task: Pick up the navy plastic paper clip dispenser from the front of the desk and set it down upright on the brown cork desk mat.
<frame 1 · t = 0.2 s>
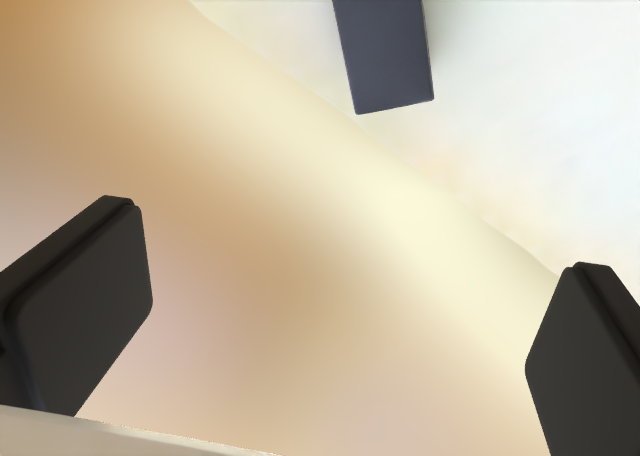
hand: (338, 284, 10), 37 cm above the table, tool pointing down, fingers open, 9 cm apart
small box: (385, 22, 41), on the table
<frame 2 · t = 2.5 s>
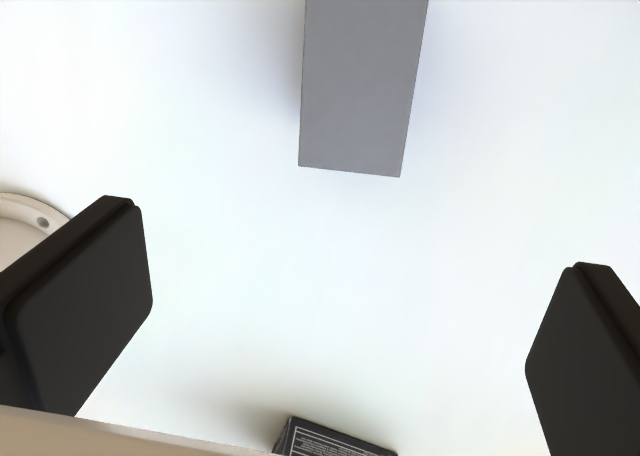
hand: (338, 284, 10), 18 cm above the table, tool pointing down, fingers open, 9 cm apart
small box: (332, 451, 42), on the table
clip dispenser: (363, 66, 26), on the table
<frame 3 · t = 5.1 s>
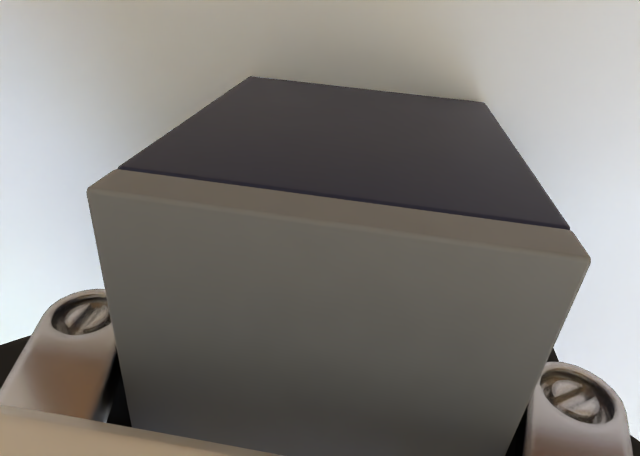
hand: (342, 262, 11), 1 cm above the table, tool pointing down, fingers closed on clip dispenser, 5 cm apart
clip dispenser: (344, 249, 12), on the table, touching gripper
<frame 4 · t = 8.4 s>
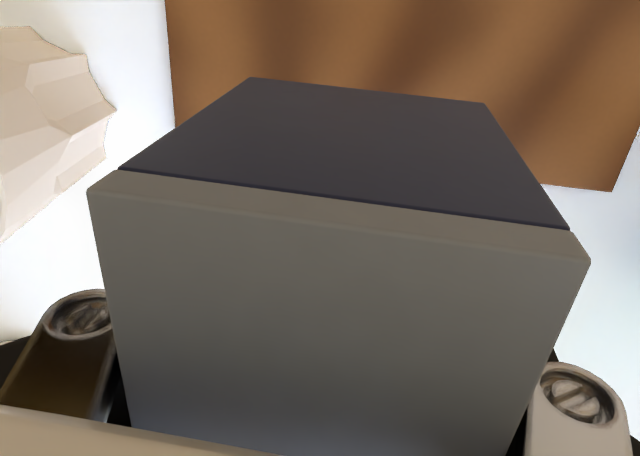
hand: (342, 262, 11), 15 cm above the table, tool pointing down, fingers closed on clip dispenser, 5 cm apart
cup: (51, 104, 27), on the table
mat: (402, 48, 23), on the table
clip dispenser: (344, 249, 12), point 15 cm above the table, touching gripper
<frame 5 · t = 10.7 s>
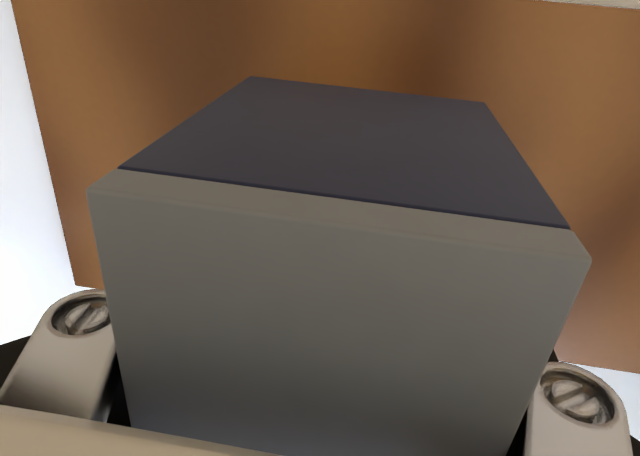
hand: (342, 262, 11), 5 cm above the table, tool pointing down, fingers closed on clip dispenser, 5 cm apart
mat: (382, 185, 16), on the table
clip dispenser: (344, 249, 12), point 5 cm above the table, touching gripper
when the fingers open (1 cm above the table, at t = 12.2 s): clip dispenser stays where it is, resting on mat.
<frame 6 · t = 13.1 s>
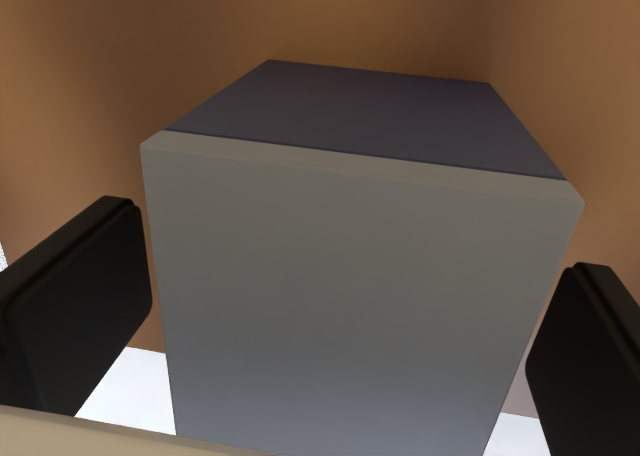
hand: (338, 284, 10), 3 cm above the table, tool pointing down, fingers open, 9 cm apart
mat: (390, 222, 13), on the table
clip dispenser: (355, 225, 12), point 1 cm above the table, touching mat
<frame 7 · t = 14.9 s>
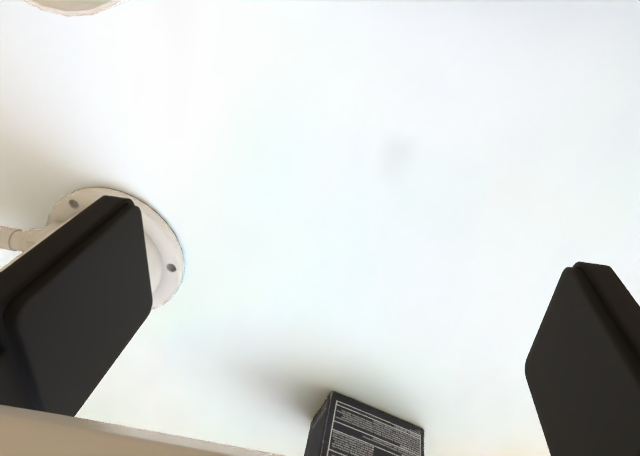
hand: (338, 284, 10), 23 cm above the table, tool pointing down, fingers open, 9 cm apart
small box: (365, 424, 48), on the table
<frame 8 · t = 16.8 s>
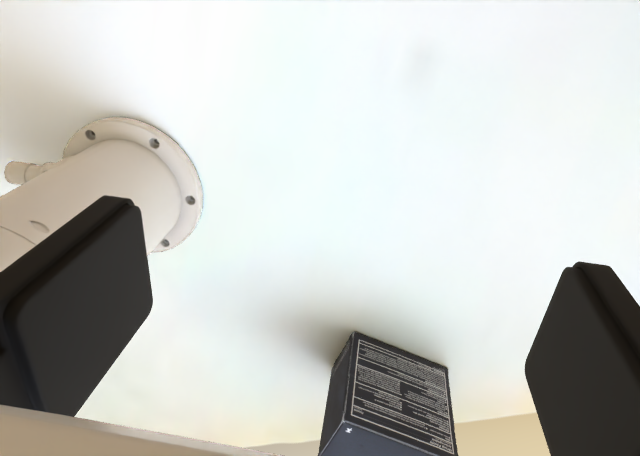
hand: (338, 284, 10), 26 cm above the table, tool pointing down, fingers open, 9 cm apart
small box: (387, 367, 47), on the table
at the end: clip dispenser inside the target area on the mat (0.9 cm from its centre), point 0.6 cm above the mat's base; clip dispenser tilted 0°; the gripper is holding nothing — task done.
